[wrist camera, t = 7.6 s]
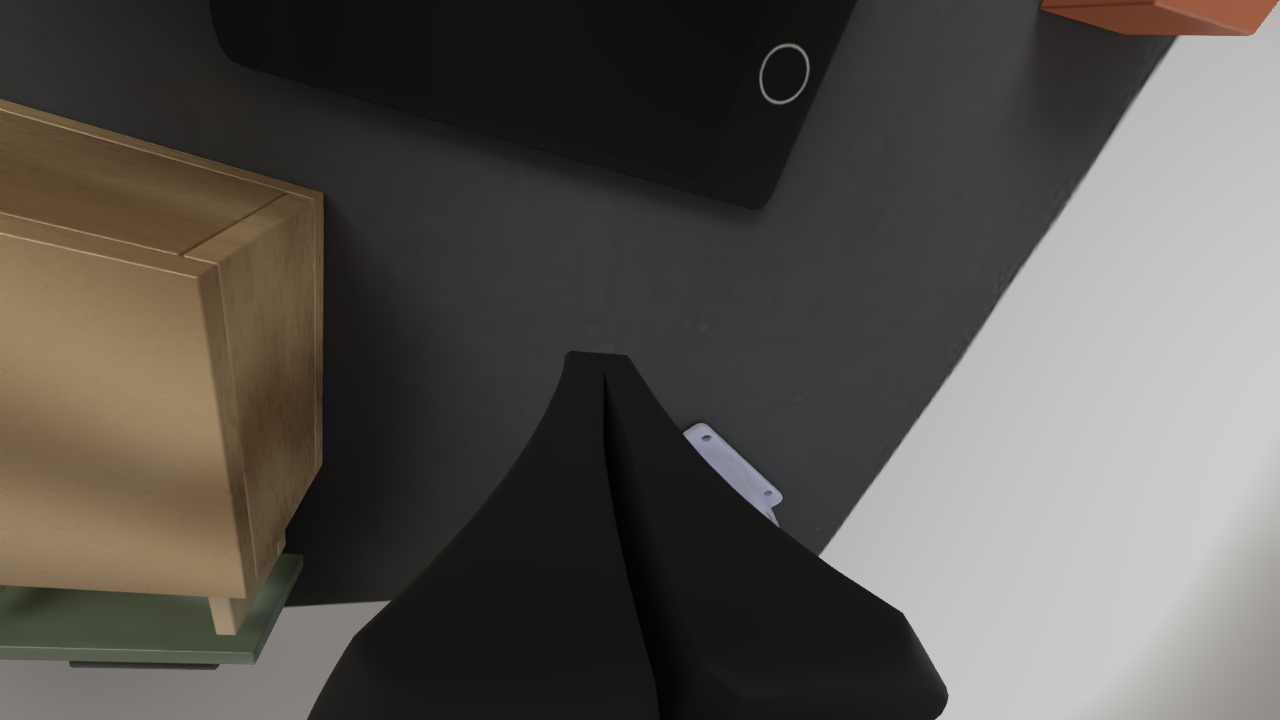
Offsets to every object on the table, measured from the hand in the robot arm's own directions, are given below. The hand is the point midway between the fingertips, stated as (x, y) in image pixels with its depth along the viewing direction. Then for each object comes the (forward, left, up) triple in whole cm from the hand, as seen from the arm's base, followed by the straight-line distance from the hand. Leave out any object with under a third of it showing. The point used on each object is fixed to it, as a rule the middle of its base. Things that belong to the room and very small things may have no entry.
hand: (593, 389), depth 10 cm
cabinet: (+9, +16, -10) cm, 21 cm away
